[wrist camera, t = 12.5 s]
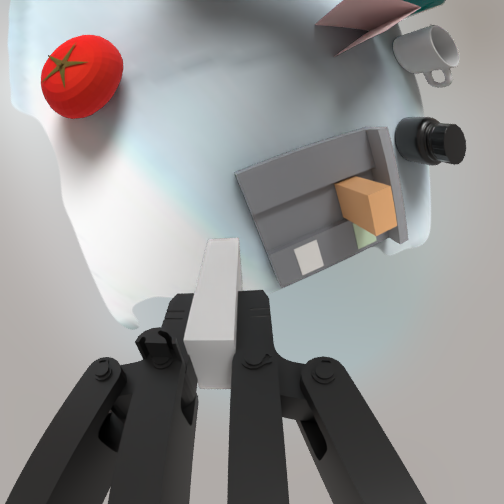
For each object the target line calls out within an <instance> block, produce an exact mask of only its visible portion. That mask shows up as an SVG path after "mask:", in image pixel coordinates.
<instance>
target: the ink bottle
mask: <svg viewBox="0 0 504 504" xmlns="http://www.w3.org/2000/svg"><path fill="white" fill-rule="evenodd" d="M395 137H396V145H397V148H398V151H399V153H400V154H401V156H402V157H403V158H405V159H406V160H408V161H411V162H416V163H421V164H426V165H438V164H439V163H441V162H445V163H449V164H459V163H460V162H461V161H462V160H463V158H464V156H465V151H466V140H465V137H464V134H463V132H462V130H461V128H460V127H458V126H457V125H456V124H443V123H440V122H439V121H437V120H436V119H434V118H430V117H408V118H404V119H402V120H401V121H400V122H399V124H398V126H397V128H396V136H395Z"/></svg>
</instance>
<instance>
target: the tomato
mask: <svg viewBox="0 0 504 504" xmlns="http://www.w3.org/2000/svg"><path fill="white" fill-rule="evenodd" d="M48 56H49V55H48ZM122 72H123V59H122V57H121V54H120V53H119V51H118V50H117V48H116V47H115V46H114V45H113V44H112V43H110V42H109V41H108V40H106V39H104V38H102V37H100V36H95V35H82V36H78V37H75V38H72V39H70V40H68V41H66V42H65V43H63V44H62V45H60V46H59V47H58V48H57V49H56V50H55V51H54V52H53V53H52V54H51V55H50V56H49V58H48V60H47V61H46V63H45V65H44V67H43V70H42V74H41V87H42V92H43V95H44V97H45V99H46V101H47V102H48V104H49V105H50V107H51V108H52V109H53V110H54V111H55V112H57V113H58V114H59V115H62V116H64V117H66V118H71V119H74V118H84V117H87V116H90V115H92V114H93V113H95V112H96V111H98V110H99V109H101V108H102V107H103V106H104V105H105V104H106V103H107V102H109V100H110V99H111V97H112V96H113V95H114V93H115V91H116V89H117V87H118V85H119V83H120V80H121V77H122Z"/></svg>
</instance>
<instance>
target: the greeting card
mask: <svg viewBox="0 0 504 504" xmlns="http://www.w3.org/2000/svg"><path fill="white" fill-rule="evenodd" d="M420 8H421V7H419V6H416V5H414V4H411V3H408V2H405V1H402V0H343V1H342V2H341V3H339V4H338V5H337V6H336V7H335V8H333V9H332V10H331V11H330V12H329V13H327V14H326V15H325V16H324V17H323V18H322V19H321V20H319V21H318V22H317V23H316V24H315V25H323V26H335V27H345V28H353V29H360V30H366V31H369V32H367V33H366V34H364V35H363V36H361V37H360V38H359V39H357V40H356V41H354V42H353V43H352V44H350V45H349V46H348V47H346V48H345V49H344V50H342V51H341V52H340V53H338V54H337V55H339V54H341V53H342V52H344V51H346V50H348V49H350V48H352V47H354V46H356V45H358V44H360V43H362V42H364V41H366V40H368V39H370V38H372V37H374V36H376V35H378V34H380V33H383V32H385V31H387V30H388V29H389V28H391V27H392V26H394V25H395V24H397V23H398V22H400V21H401V20H403V19H404V18H406V17H407V16H409V15H410V14H412V13H413V12H415V11H416V10H418V9H420ZM337 55H336V56H337ZM334 57H335V56H334Z"/></svg>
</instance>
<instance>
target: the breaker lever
mask: <svg viewBox="0 0 504 504" xmlns="http://www.w3.org/2000/svg"><path fill="white" fill-rule="evenodd" d="M334 185H335V189H336V192H337V196H338V200H339V203H340V207H341V211H342V215H343V217H344V218H346V219H347V220H349V221H351V222H353V223H354V224H356V225H358V226H359V227H361V228H363V229H365V230H366V231H368V232H370V233H371V234H373V235H375V236H378V235H380V234H382V233H384V232H386V231H388V230H390V229H392V228H394V227H396V226H397V220H396V213H395V207H394V201H393V195H392V190H391V186H389V185H385V184H382V183H378V182H375V181H371V180H368V179H364V178H360V177H357V176H352V177H350V178H347V179H345V180H342V181H339V182H337V183H334Z"/></svg>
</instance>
